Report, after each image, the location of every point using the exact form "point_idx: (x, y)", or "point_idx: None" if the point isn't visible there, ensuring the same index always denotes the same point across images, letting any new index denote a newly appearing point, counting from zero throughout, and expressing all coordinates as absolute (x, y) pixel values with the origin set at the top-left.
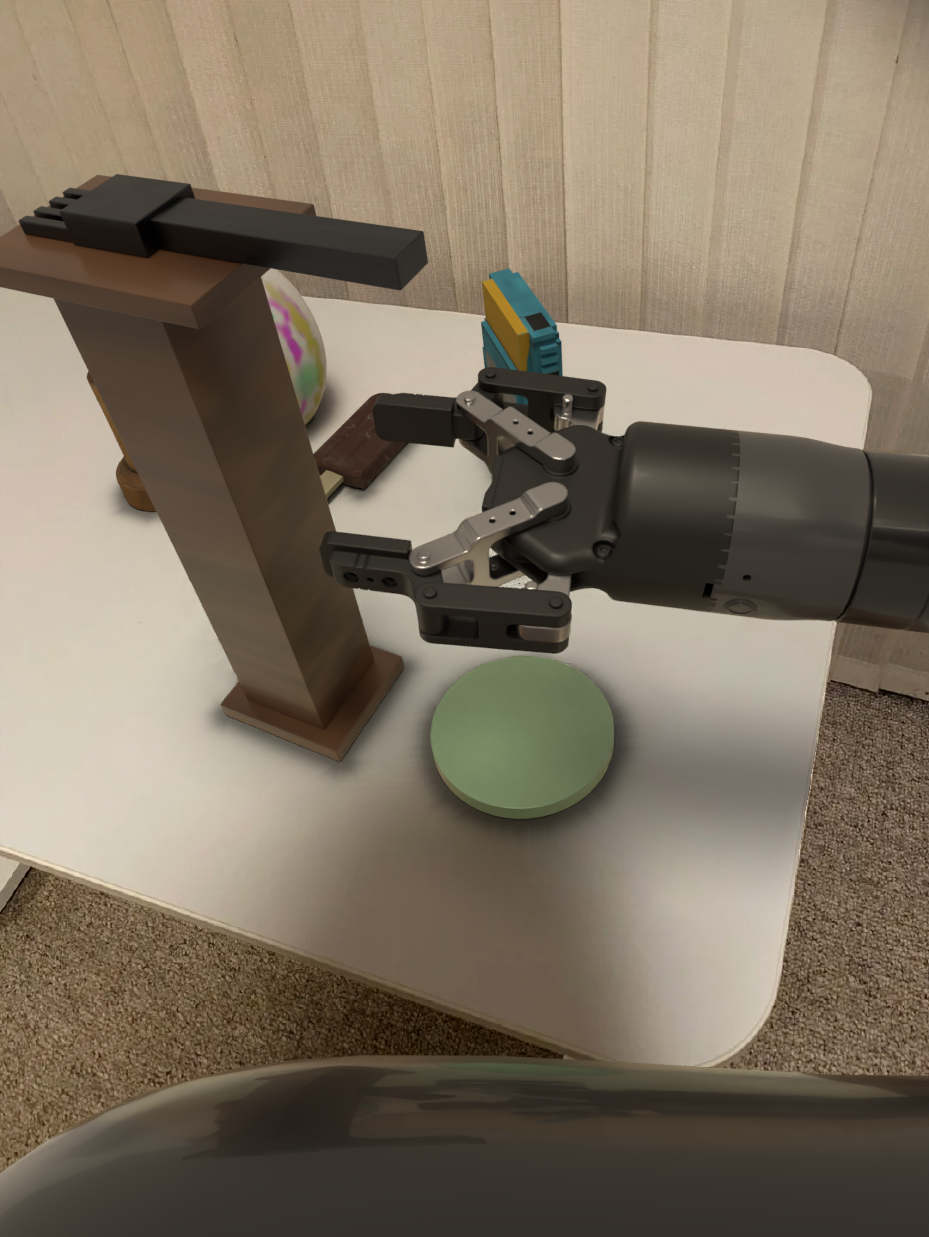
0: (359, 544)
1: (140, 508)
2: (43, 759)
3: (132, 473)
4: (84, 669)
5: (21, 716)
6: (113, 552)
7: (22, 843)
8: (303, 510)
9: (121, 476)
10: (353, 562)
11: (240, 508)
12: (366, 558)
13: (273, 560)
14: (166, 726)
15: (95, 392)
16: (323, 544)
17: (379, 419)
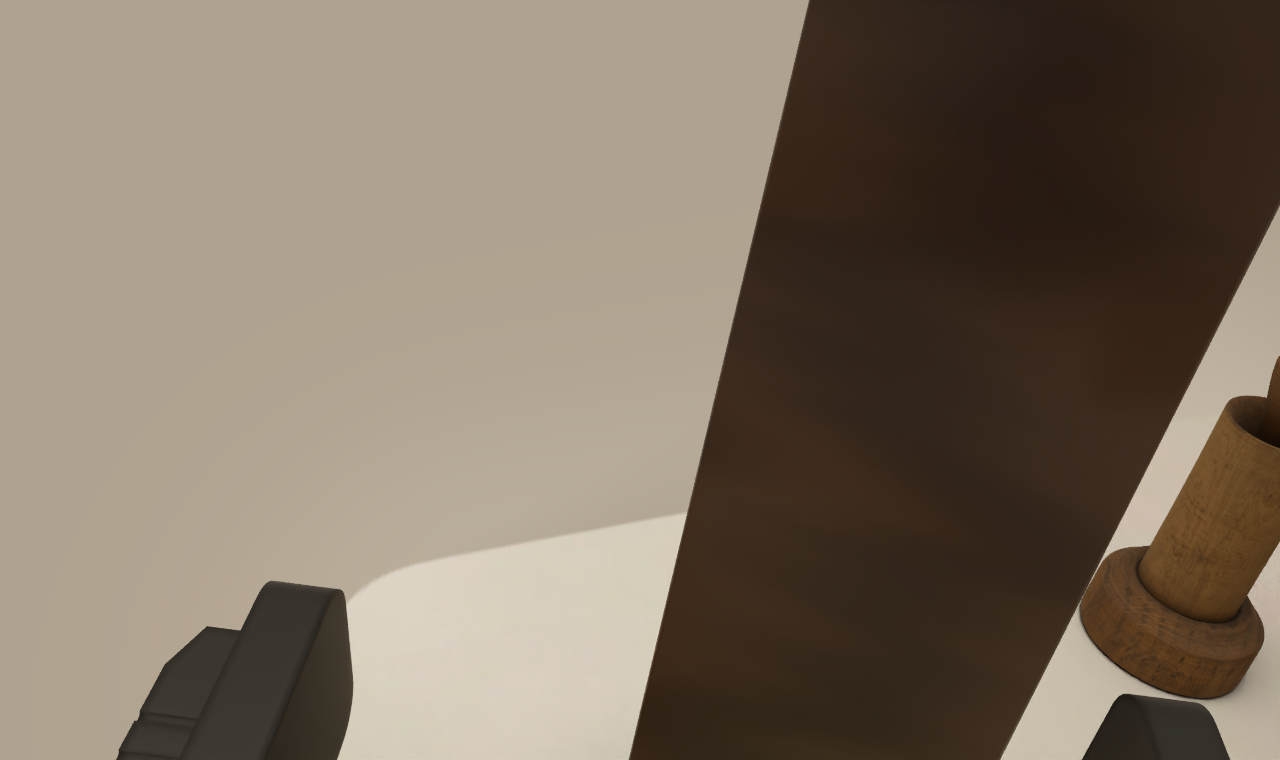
0: (222, 702)
1: (1081, 610)
2: (525, 580)
3: (1131, 565)
4: None
5: (608, 539)
6: None
7: (368, 585)
8: (879, 733)
9: (1120, 554)
10: (168, 710)
11: (703, 498)
12: (177, 758)
13: (697, 695)
14: (591, 741)
15: (1218, 419)
16: (266, 583)
17: (1107, 754)
